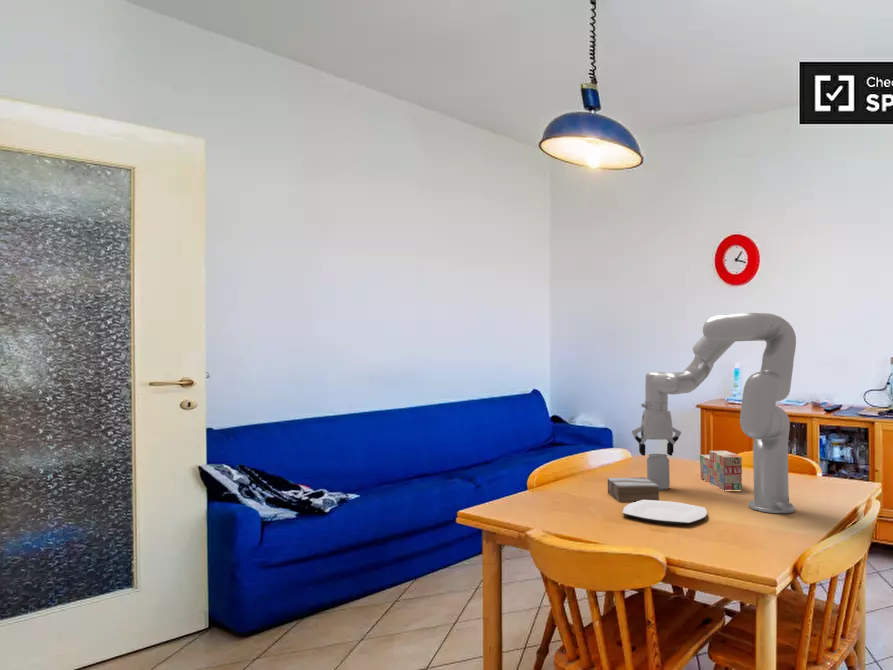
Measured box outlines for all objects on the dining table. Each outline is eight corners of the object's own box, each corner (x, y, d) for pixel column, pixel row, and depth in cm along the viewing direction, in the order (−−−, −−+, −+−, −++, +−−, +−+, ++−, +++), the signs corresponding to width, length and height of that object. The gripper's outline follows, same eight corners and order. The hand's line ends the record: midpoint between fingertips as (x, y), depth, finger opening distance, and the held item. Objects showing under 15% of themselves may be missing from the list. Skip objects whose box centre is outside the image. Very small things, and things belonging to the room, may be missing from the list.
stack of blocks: (700, 479, 236) (699, 446, 237) (716, 479, 236) (716, 446, 237) (724, 492, 215) (723, 456, 215) (742, 492, 215) (741, 456, 215)
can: (644, 486, 225) (644, 452, 226) (665, 486, 225) (665, 452, 225) (650, 490, 218) (650, 456, 218) (672, 490, 218) (672, 456, 218)
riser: (658, 501, 203) (658, 485, 204) (619, 501, 203) (618, 486, 203) (645, 491, 216) (644, 477, 217) (607, 492, 216) (607, 478, 216)
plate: (638, 503, 202) (638, 497, 202) (715, 513, 189) (714, 507, 189) (613, 519, 184) (612, 513, 184) (695, 532, 170) (695, 525, 170)
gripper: (635, 407, 218) (635, 457, 218) (684, 408, 219) (684, 457, 219) (628, 405, 226) (628, 453, 226) (676, 405, 226) (676, 453, 226)
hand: (656, 454), depth 222 cm, fingers open, 9 cm apart
